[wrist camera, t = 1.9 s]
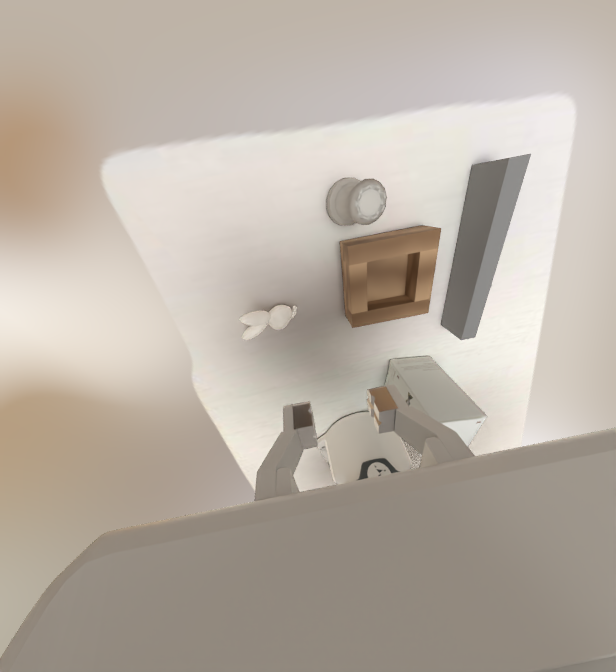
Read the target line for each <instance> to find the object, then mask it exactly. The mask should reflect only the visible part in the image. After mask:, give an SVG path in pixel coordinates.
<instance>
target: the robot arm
mask: <svg viewBox="0 0 616 672" xmlns="http://www.w3.org/2000/svg"><path fill="white" fill-rule="evenodd" d="M367 396H368V399H367V405H368V410H369V412H360V413H355V414H352V415H349V416H346V417H344V418H342V419H340V420H339V421H337V422H336V423H335V424H333V425H332V426H331V428H330V429H329V430H328V431H327V433H326V434H324V435H323V436H321V437H320V438H318V439H317V435H316V430H315V423H314V417H313V412H312V409H311V404H310V401H308V402H303V403H297V404H292V405H286V406H284V407H283V429H284V432H281V433H280V435H279V437H278V438H277V440H276V442H275V443H274V445H273V447H272V448H271V450H270V451H269V453H268V455H267V456H266V458H265V460H264V461H263V463H262V465H261V466H260V468H259V470H258V471H257V478H256V490H255V501H254V502H249V503H244V504H240V505H235V506H230V507H225V508H220V509H215V510H210V511H206V512H200V513H195V514H190V515H185V516H181V517H176V518H171V519H166V520H161V521H156V522H151V523H146V524H141V525H137V526H131V527H126V528H121V529H116V530H112V531H109V532H106V533H104V534H102V535H101V536H100V537H98V538H97V539H96V540H95V541H94V542H93V543H92V544H90V545H89V546H88V547H87V548H86V549H85V550H84V551H83V552H82V553H81V554H80V555H79V556H78V557H77V558H76V559H75V560H74V561H73V562H72V563H71V564H70V565H69V566H68V567H67V568H66V569H65V570H64V571H63V572H62V573H60V575H58V577H57V578H56V579H55V580H54V581H53V582H52V583H51V584H50V585H49V587H48V588H47V589H46V590H45V592H44V593H43V594H42V596H41V597H40V599H39V600H38V601H37V603H36V604H35V606H34V607H33V608H32V610H31V611H30V613H29V614H28V616H27V617H26V619H25V620H24V622H23V623H22V625H21V626H20V628H19V629H18V631H17V633H16V634H15V636H14V637H13V639H12V640H11V642H10V644H9V645H8V647H7V648H6V650H5V651H4V653H3V655H2V656H1V658H0V672H616V428H611V429H606V430H602V431H597V432H591V433H587V434H582V435H577V436H572V437H567V438H562V439H557V440H552V441H548V442H543V443H538V444H533V445H528V446H523V447H518V448H513V449H508V450H503V451H499V452H494V453H489V454H484V455H479V456H474V454H473V453H472V452H471V450H470V449H469V448H468V447H467V445H466V444H465V443H464V441H463V440H462V439H461V437H460V436H459V435H458V434H457V432H455V431H454V430H452V429H450V428H449V427H447V426H445V425H443V424H442V423H440V422H438V421H436V420H435V419H433V418H431V417H429V416H428V415H426V414H424V413H422V412H421V411H419V410H417V409H416V408H414V407H412V406H410V407H409V406H408V405H407V403H406V401H405V400H404V398H403V397H402V395H401V394H400V392H399V391H398V389H397V387H396V386H395V385H394V384H391V385H386V386H381V387H376V388H372V389H367ZM402 439H403V440H404V441H406V442H407V443H408V444H409V445H411V446H412V447H413V448H414V449H415V450H417V451H418V452H419V453H420V454H421V455H422V458H421V463H420V467H419V468H415V469H411V466H412V461H411V458H410V456H409V454H408V452H407V449H406V447H405V445H404V443H403V441H402ZM316 446H317V448H318V449H319V451H320V452H321V454H322V455H323V457H324V458H325V460H326V462H327V463H328V465H329V467H330V469H331V473H332V478H333V481H334V482H336V484H337V485H332V486H327V487H322V488H318V489H313V490H308V491H303V492H299V490H298V487H297V485H296V482H295V480H294V477H293V474H294V472H295V470H296V467H297V465H298V462H299V460H300V457H301V455H302V452H303V449H308V448H312V447H316Z"/></svg>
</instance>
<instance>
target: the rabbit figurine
mask: <svg viewBox="0 0 616 672" xmlns="http://www.w3.org/2000/svg"><path fill="white" fill-rule="evenodd" d="M296 310H297V306H296V305H294V306H293V311H292V309H291V308H290V307H289V306H286V305H277V306H275V307H274V308H272V309H271V310H270V311H269V312H267V311H264V308H263V311H254V312H250V313H247V314H244V315H243V316H242V317H241V318H240V319H239V321H240V322H241V323H243V324H246V325H250V327H249V328H248V329H246V330H245V332H244V333H243V335H242V339H243V340H250V339H253V338H254V337H256V336H257V335H259V334H260V333H261V332H262V331H263V330H264V329H265V327H266V326H267V324H268V323H269V325H270V326H271V327H272V328H273V329H276V330H282V329H283V328H285V327H286V325H287V324H288V323H289V321H290V319H292V318H294V316H295V315H296V314H297V312H296Z"/></svg>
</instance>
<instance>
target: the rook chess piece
mask: <svg viewBox="0 0 616 672" xmlns="http://www.w3.org/2000/svg"><path fill="white" fill-rule="evenodd" d="M386 198H387V196H386V192H385V188H384V187H383V186H382V184H381V183H380V182H379V181H377V180H375V179H364V180H363V181H360V180H358V179H356V178H343V179H341V180H339V181H337V182H336V183H335V184H334V185H333V186H332V188H331V189H330V191H329V194H328V197H327V211H328V214H329V217H330V218H331V219H332V220H333V221H334V222H335V223H337V224H339V225H341V226H347V225H353V224H355V223H358V224H361V225H368V224H371V223H373V222H375V221H376V220H377V219H378V218H379V217H380V216H381V215H382V213H383V211H384V209H385V207H386Z"/></svg>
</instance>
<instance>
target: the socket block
mask: <svg viewBox="0 0 616 672" xmlns="http://www.w3.org/2000/svg"><path fill="white" fill-rule="evenodd" d="M440 233H441V228H436V227H430V226H423V225H422V226H417V227H412V228H407V229H401V230H396V231H391V232H386V233H381V234H376V235H370V236H365V237H360V238H355V239H350V240H345V241H340V248H341V262H342V275H343V288H344V301H345V314H346V317H347V319H348V321H349V323H350V324H351V326H352V328H354V327H360V326H365V325H370V324H375V323H380V322H385V321H390V320H395V319H400V318H405V317H410V316H415V315H420V314H425V313H428V311H429V304H430V298H431V291H432V285H433V278H434V272H435V265H436V259H437V252H438V246H439V239H440Z"/></svg>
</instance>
